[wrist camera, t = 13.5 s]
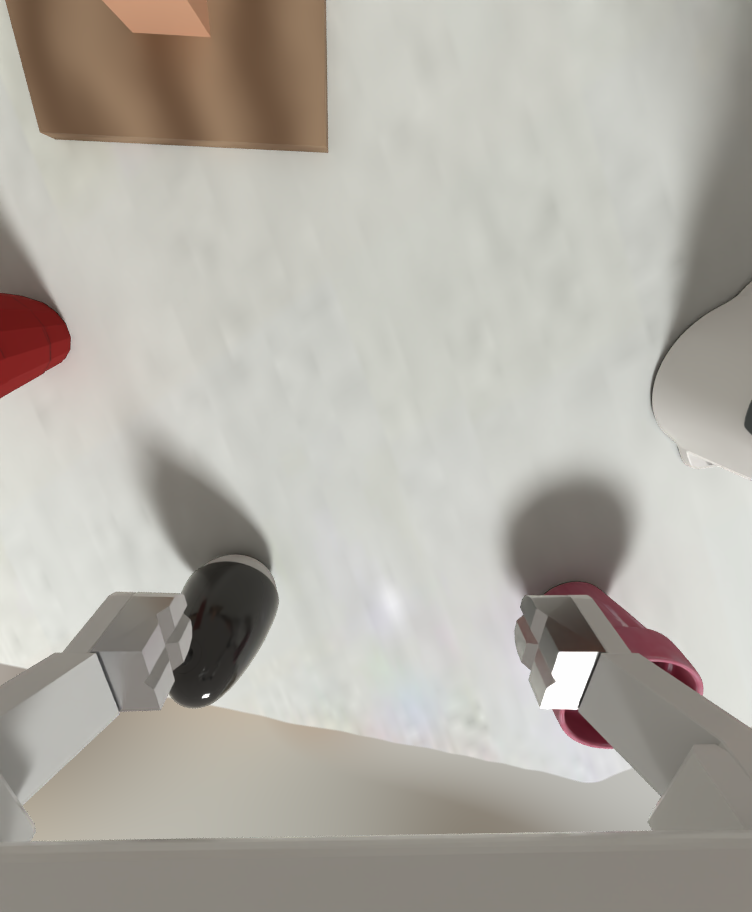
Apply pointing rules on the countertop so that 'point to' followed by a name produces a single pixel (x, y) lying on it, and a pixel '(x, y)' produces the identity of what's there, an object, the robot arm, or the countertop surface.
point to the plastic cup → (28, 340)
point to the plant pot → (637, 642)
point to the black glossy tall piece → (223, 626)
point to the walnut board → (178, 75)
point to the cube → (163, 16)
